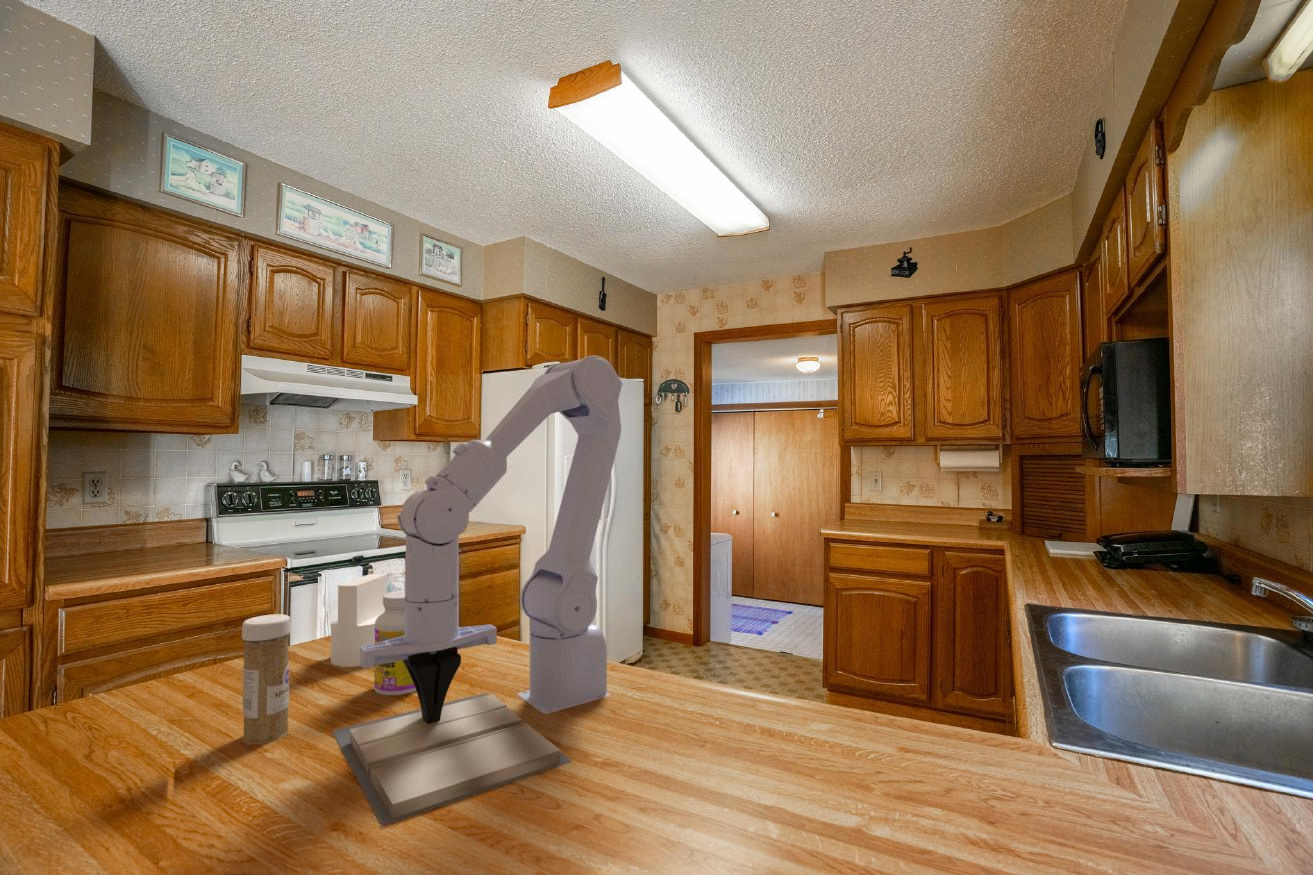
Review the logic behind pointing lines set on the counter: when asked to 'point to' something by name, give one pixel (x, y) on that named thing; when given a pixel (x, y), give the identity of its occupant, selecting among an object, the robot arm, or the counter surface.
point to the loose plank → (429, 730)
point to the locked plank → (461, 768)
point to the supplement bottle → (387, 627)
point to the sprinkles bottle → (265, 678)
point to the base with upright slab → (356, 618)
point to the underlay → (370, 790)
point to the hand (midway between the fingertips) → (431, 719)
